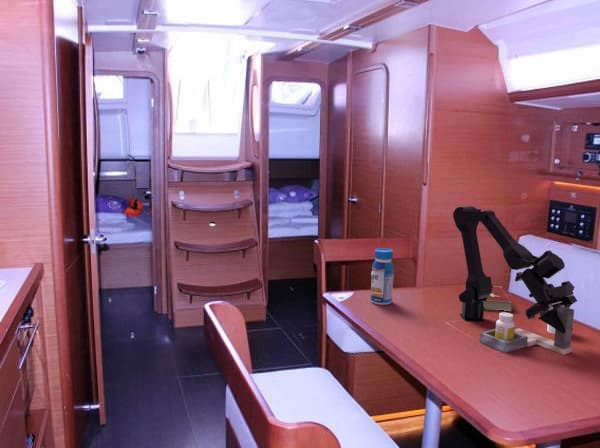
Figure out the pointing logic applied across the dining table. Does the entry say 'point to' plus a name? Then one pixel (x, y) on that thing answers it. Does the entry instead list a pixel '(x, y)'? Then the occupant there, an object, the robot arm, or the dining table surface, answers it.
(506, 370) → the dining table surface
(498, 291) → the hardcover book
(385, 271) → the beverage bottle
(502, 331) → the supplement bottle
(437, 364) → the dining table surface
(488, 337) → the tray with upright post
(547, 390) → the dining table surface
